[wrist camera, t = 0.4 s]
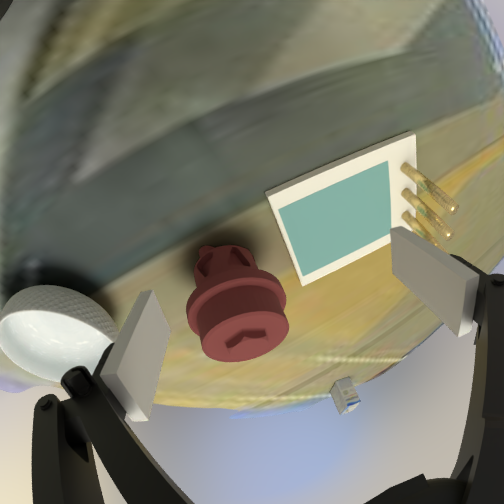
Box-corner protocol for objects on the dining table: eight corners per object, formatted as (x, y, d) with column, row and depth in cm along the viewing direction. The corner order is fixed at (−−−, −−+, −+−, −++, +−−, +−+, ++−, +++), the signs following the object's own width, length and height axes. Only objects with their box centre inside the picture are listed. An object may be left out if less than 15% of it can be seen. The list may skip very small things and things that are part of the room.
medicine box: (342, 386, 83) (353, 410, 77) (329, 391, 82) (339, 415, 76) (349, 375, 78) (361, 401, 71) (335, 380, 77) (347, 407, 71)
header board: (264, 192, 31) (267, 197, 30) (410, 130, 30) (415, 134, 29) (299, 281, 42) (302, 286, 41) (410, 225, 41) (414, 229, 41)
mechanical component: (166, 241, 32) (255, 212, 32) (194, 298, 39) (268, 273, 39) (177, 339, 23) (298, 300, 24) (213, 384, 30) (303, 354, 31)
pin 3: (401, 213, 37) (442, 257, 31) (409, 209, 37) (450, 252, 31) (401, 220, 38) (440, 264, 32) (408, 216, 38) (448, 259, 32)
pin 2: (401, 190, 35) (446, 234, 28) (409, 186, 35) (454, 228, 28) (401, 198, 36) (445, 242, 29) (409, 194, 36) (453, 237, 29)
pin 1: (400, 164, 32) (450, 207, 25) (408, 160, 32) (459, 202, 25) (400, 173, 33) (449, 217, 26) (408, 170, 33) (458, 212, 26)
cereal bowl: (-10, 264, 26) (-28, 309, 21) (112, 259, 31) (108, 309, 26) (32, 344, 36) (27, 384, 31) (129, 343, 42) (131, 385, 37)
